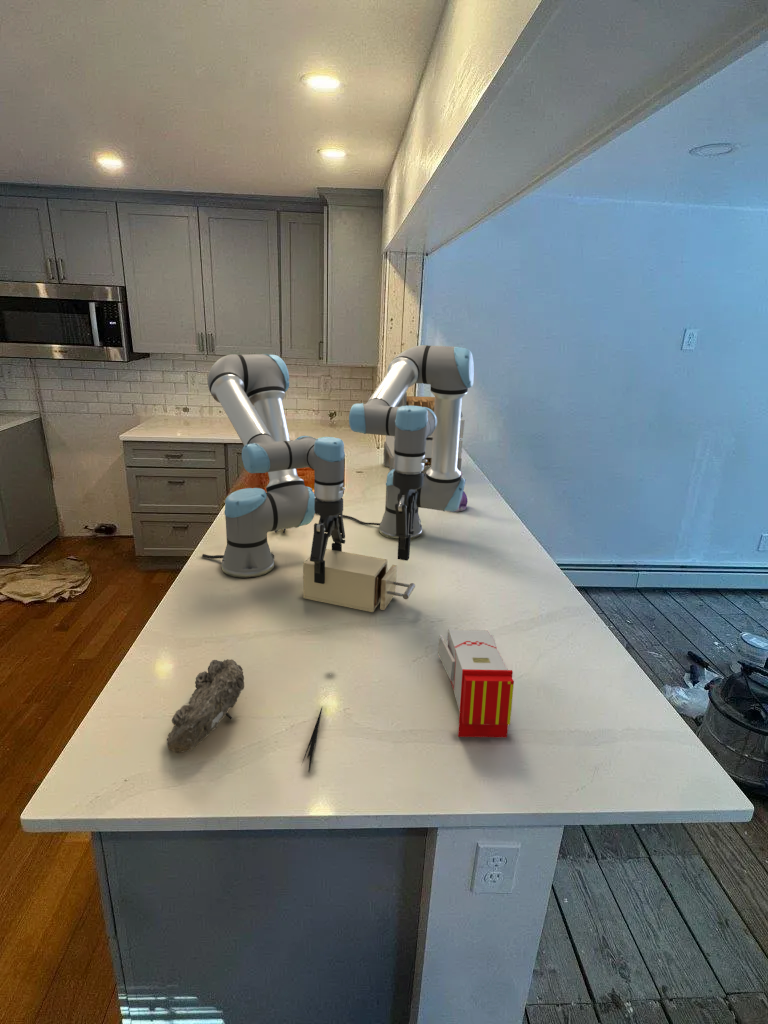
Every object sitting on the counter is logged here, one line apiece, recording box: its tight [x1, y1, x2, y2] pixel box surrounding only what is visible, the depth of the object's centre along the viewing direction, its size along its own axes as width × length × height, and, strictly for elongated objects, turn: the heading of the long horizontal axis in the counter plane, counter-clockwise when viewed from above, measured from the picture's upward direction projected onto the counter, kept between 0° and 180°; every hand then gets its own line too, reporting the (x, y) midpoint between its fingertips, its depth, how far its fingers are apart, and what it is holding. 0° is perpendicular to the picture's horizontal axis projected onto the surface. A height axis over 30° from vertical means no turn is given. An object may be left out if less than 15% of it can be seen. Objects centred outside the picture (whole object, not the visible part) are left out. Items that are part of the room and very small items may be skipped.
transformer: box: [383, 392, 465, 472], centre depth 268 cm, size 34×33×41 cm
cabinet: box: [302, 548, 388, 613], centre depth 154 cm, size 20×11×11 cm, turn 72°
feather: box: [301, 673, 332, 771], centre depth 108 cm, size 2×28×2 cm
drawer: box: [374, 564, 416, 611], centre depth 152 cm, size 25×10×9 cm, turn 72°
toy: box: [437, 628, 515, 738], centre depth 117 cm, size 12×13×30 cm
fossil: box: [166, 658, 245, 754], centre depth 106 cm, size 22×10×15 cm
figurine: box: [454, 471, 468, 512], centre depth 225 cm, size 9×10×15 cm
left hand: (328, 573), depth 155 cm, fingers closed on cabinet, 11 cm apart
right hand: (403, 558), depth 146 cm, fingers closed
